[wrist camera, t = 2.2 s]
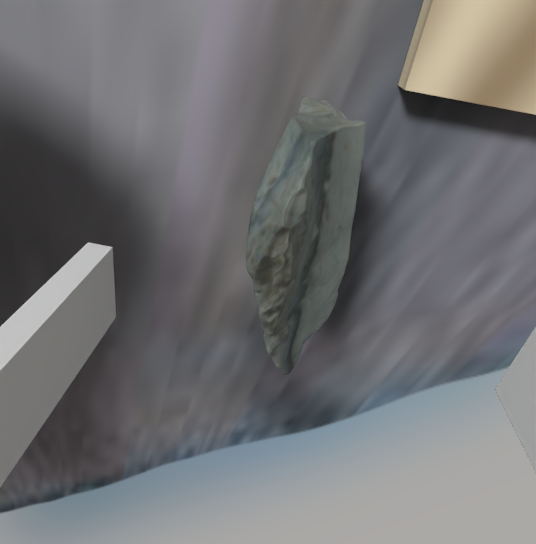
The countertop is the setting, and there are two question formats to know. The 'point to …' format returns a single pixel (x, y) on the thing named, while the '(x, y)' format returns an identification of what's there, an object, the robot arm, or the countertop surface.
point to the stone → (304, 226)
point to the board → (475, 53)
